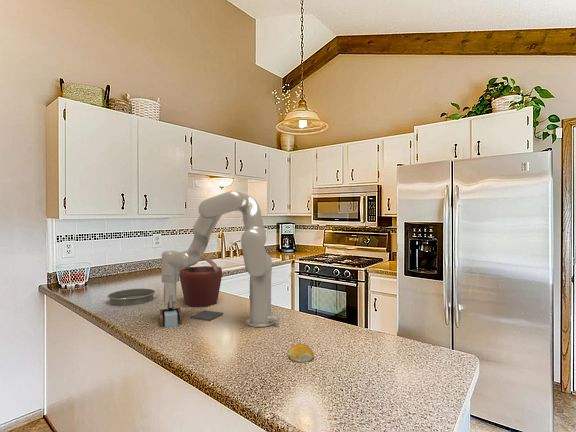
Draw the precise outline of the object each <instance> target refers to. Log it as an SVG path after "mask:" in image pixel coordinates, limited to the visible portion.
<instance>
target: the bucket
mask: <svg viewBox="0 0 576 432" xmlns="http://www.w3.org/2000/svg"><path fill="white" fill-rule="evenodd" d="M200 260H204V261H205V262H207V263H208V264H209V265H210V266H209V265H204V266H190V267H188V268H181V269H179V282H180V286H181V290H182V294H183V295H182V296H183V300H184V304H185V305H186V306H187V307H189V308H208V307H211V305H212V306H216V305H217V304H218V299H219V295H220V288H221V283H222V277H223V269H222V267H221V266H218V265H217V263H216V262H214V260H212V259H211V258H209V257H204V256H202V257H201V259H200Z"/></svg>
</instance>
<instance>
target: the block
mask: <svg viewBox="0 0 576 432" xmlns="http://www.w3.org/2000/svg"><path fill="white" fill-rule="evenodd" d="M163 325H164V328H166V329H167V328H173V327H178V316H177V311H176V310H175V311H165V312H164V317H163Z"/></svg>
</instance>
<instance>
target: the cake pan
mask: <svg viewBox="0 0 576 432" xmlns="http://www.w3.org/2000/svg"><path fill="white" fill-rule="evenodd" d="M155 294H156V290H155V289H153V288H130V289H122V290H118V291H117V290H116V291H114V292H111V293H109V294H107V296H106V297H107V299H109V302H110V304H111V305H112V304H113V306H117V307H120V306H121V307H124V306H125V307H129V305H130V306H136V305H142V304H143V305H144V304H147V303H149V302H151V301H152V300H153V299H154V295H155ZM121 298H122V299H121ZM123 298H126V299H123Z"/></svg>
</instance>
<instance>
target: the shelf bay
mask: <svg viewBox="0 0 576 432" xmlns="http://www.w3.org/2000/svg"><path fill="white" fill-rule="evenodd" d="M175 310H176V311H177V320H178V322H179V325H183V314H182V311H181V307H174V311H175ZM165 311H167V308H163V309H159V326H160V327H161V328H163V327H164V312H165Z"/></svg>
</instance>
